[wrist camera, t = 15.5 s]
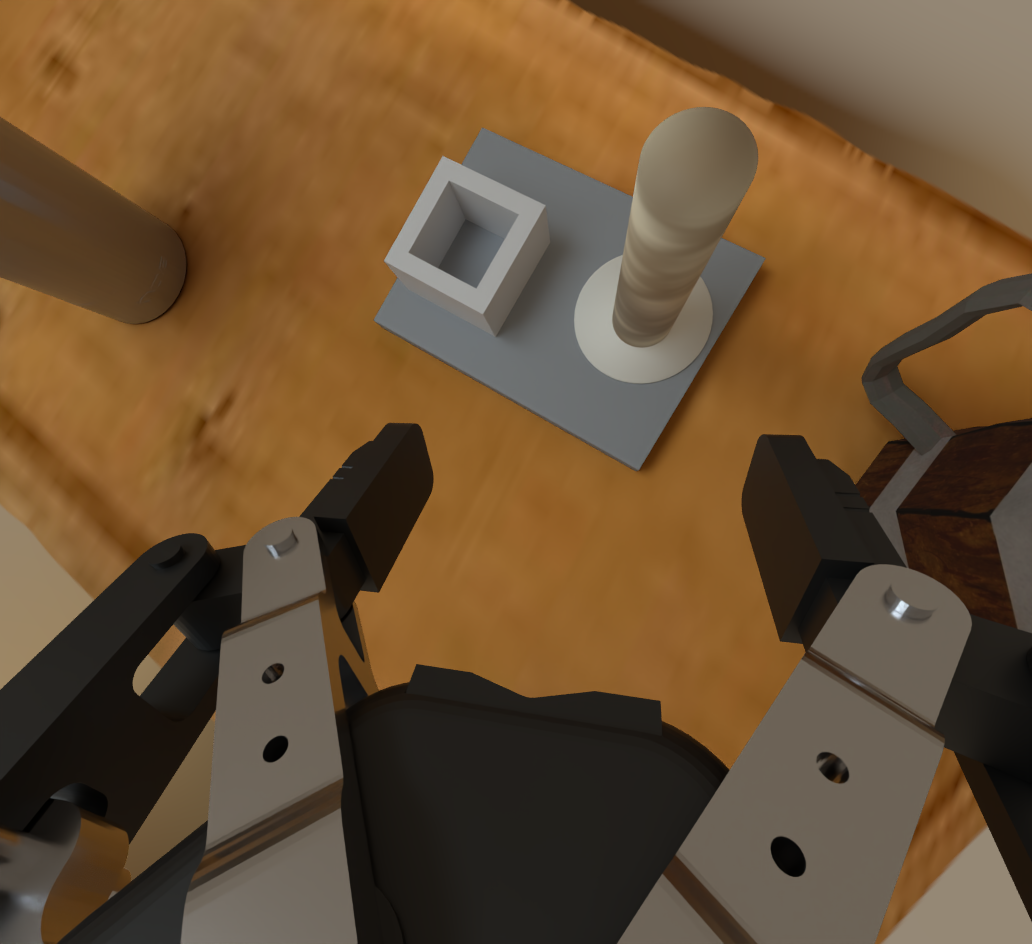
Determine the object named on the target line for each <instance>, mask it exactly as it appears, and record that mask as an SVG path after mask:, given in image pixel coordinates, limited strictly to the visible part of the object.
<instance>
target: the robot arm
mask: <svg viewBox="0 0 1032 944" xmlns="http://www.w3.org/2000/svg"><path fill="white" fill-rule="evenodd" d="M185 274H186V256H185V250H184V248H183V245H182V242H181V240H180V238H179V237H178V235H177V234H176V232H175V231H174V230H173V229H172V228H171V227H169V226H168V225H167V224H165V223H164V222H162V221H161V220H159V219H158V218H156V217H155V216H153V215H151V214H150V213H148V212H147V211H145V210H144V209H142V208H141V207H139V206H137V205H136V204H134V203H133V202H131V201H130V200H128V199H127V198H125V197H123V196H122V195H121V194H119V193H118V192H116V191H115V190H113V189H111V188H110V187H108V186H107V185H105V184H104V183H102V182H101V181H99V180H98V179H96V178H94V177H93V176H91V175H90V174H88V173H87V172H85V171H84V170H82V169H80V168H79V167H77V166H76V165H74V164H73V163H71V162H70V161H68V160H66V159H65V158H63V157H62V156H60V155H59V154H57V153H56V152H54V151H53V150H51V149H49V148H48V147H46V146H45V145H43V144H42V143H40V142H39V141H37V140H35V139H34V138H32V137H31V136H29V135H28V134H26V133H25V132H23V131H21V130H20V129H18V128H17V127H15V126H14V125H12V124H11V123H9V122H8V121H6V120H4V119H3V118H1V117H0V277H2V278H4V279H7V280H10V281H12V282H15V283H18V284H20V285H23V286H26V287H29V288H31V289H34V290H37V291H39V292H42V293H45V294H48V295H50V296H53V297H56V298H58V299H61V300H64V301H66V302H69V303H71V304H74V305H77V306H80V307H82V308H85V309H88V310H91V311H93V312H96V313H99V314H102V315H104V316H107V317H110V318H113V319H115V320H118V321H121V322H124V323H130V324H139V323H145V322H148V321H150V320H153V319H155V318H157V317H158V316H160V315H161V314H163V313H164V312H165V311H166V310H167V309H168V308H169V307H170V306H171V305H172V304H173V302H174V301H175V299H176V298H177V296H178V295H179V293H180V290H181V288H182V286H183V283H184V278H185ZM432 488H433V470H432V466H431V463H430V459H429V455H428V451H427V447H426V443H425V440H424V436H423V432H422V429H421V427H420V426H419V425H418V424H412V423H388V424H386V425H385V427H384V428H383V429H382V430H381V432H380V433H379V434H378V435H377V437H376V438H375V439H374V440H373V441H369V442H367V443H366V444H364V445H363V446H361V447H360V448H358V449H357V450H355V451H354V452H353V453H352V454H351V455H350V456H349V457H348V459H347V460H346V461H345V462H344V463H343V465H342V468H339V469H338V471H337V472H336V473H335V474H334V476H333V479H330V480H329V482H328V483H327V484H326V485H325V486H324V488H323V489H322V490H321V491H320V492H319V494H318V495H317V496H316V497H315V498H314V500H313V501H312V502H311V503H310V504H309V506H308V507H307V508H306V509H305V511H304V512H303V513H302V514H301V515H300V517H290V518H285V519H282V520H278V521H276V522H273V523H271V524H269V525H267V526H266V527H264V528H263V529H261V530H260V531H258V532H257V533H256V534H255V535H254V536H253V537H252V538H251V539H250V540H249V541H248V543H247V545H243V546H237V547H231V548H225V549H219V550H214V549H213V547H212V546H211V545H210V543H209V542H208V541H207V539H206V538H205V537H204V536H202V535H200V534H195V533H189V534H182V535H178V536H175V537H172V538H169V539H167V540H164V541H162V542H160V543H158V544H157V545H155V546H153V547H152V548H150V549H149V550H147V551H146V552H145V553H144V554H142V555H141V556H140V557H139V558H138V559H137V560H136V561H135V562H134V563H133V564H132V565H131V566H130V567H129V568H127V569H126V570H125V571H124V572H123V573H122V574H121V575H120V576H119V577H118V578H117V579H116V580H115V581H114V582H113V583H112V584H111V585H110V586H109V587H108V588H107V589H105V590H104V591H103V592H102V593H101V594H100V595H99V596H98V597H97V598H96V599H95V600H94V601H93V602H92V603H91V604H90V605H89V606H88V607H87V608H86V609H85V610H83V612H82V613H80V614H79V615H78V616H77V617H76V618H75V619H74V620H73V621H72V622H71V623H70V624H69V625H68V626H67V627H66V628H65V629H64V630H63V631H61V632H60V633H59V634H58V635H57V636H56V637H55V638H54V639H53V640H52V641H51V642H50V643H49V644H48V645H47V646H46V647H45V648H44V649H43V650H42V651H41V652H39V653H38V654H37V655H36V656H35V657H34V658H33V659H32V660H31V661H30V662H29V663H28V664H27V665H26V666H25V667H24V668H23V669H22V670H21V671H20V672H19V673H17V675H15V677H13V678H12V679H11V680H10V681H9V682H8V683H7V684H6V685H5V686H4V687H3V688H2V689H1V690H0V944H875V941H876V938H877V935H878V933H879V930H880V927H881V924H882V921H883V919H884V916H885V913H886V910H887V907H888V904H889V902H890V899H891V896H892V893H893V890H894V888H895V885H896V882H897V879H898V876H899V873H900V871H901V868H902V865H903V862H904V859H905V856H906V854H907V851H908V848H909V845H910V842H911V840H912V837H913V834H914V831H915V828H916V825H917V823H918V820H919V817H920V814H921V811H922V809H923V806H924V803H925V800H926V797H927V794H928V792H929V789H930V786H931V783H932V780H933V778H934V775H935V772H936V769H937V766H938V763H939V761H940V758H941V755H942V752H943V748H944V747H945V748H947V749H950V750H952V751H954V753H955V755H956V758H957V760H958V762H959V764H960V766H961V769H962V771H963V773H964V775H965V777H966V779H967V782H968V784H969V786H970V788H971V790H972V793H973V795H974V797H975V799H976V801H977V803H978V806H979V808H980V810H981V812H982V814H983V816H984V819H985V821H986V823H987V825H988V827H989V830H990V832H991V834H992V836H993V838H994V840H995V842H996V845H997V847H998V849H999V851H1000V853H1001V856H1002V858H1003V860H1004V862H1005V864H1006V867H1007V869H1008V871H1009V873H1010V875H1011V877H1012V880H1013V882H1014V884H1015V886H1016V888H1017V890H1018V893H1019V895H1020V897H1021V899H1022V901H1023V903H1024V905H1025V908H1026V910H1027V912H1028V915H1029V917H1030V919H1031V921H1032V633H1029V632H1026V631H1023V630H1020V629H1016V628H1013V627H1010V626H1007V625H1003V624H1000V623H997V622H993V621H990V620H987V619H984V618H980V617H978V616H975V615H972V614H969V611H968V610H967V608H966V606H965V605H964V603H963V602H962V601H961V600H960V599H959V598H958V597H957V596H956V595H955V594H954V593H953V592H952V591H951V590H949V589H948V588H947V587H945V586H944V585H943V584H941V583H939V582H938V581H936V580H934V579H933V578H931V577H929V576H927V575H925V574H922V573H920V572H917V571H915V570H912V569H909V568H907V567H906V565H905V564H904V562H903V560H902V559H901V557H900V556H899V554H898V552H897V551H896V549H895V548H894V546H893V545H892V543H891V541H890V540H889V538H888V537H887V535H886V533H885V532H884V530H883V529H882V527H881V525H880V524H879V522H878V521H877V519H876V518H875V516H874V514H873V513H872V512H870V511H869V510H870V508H869V506H868V505H867V503H866V502H865V500H864V498H863V497H860V492H859V491H858V489H857V487H856V486H855V484H854V483H853V481H852V479H851V478H850V476H849V475H848V474H846V473H845V472H844V471H842V470H841V469H840V468H838V467H837V466H836V465H835V464H833V463H832V462H831V461H829V460H826V459H816V458H815V456H814V454H813V453H812V451H811V449H810V447H809V446H808V444H807V442H806V440H805V439H804V437H803V436H801V435H769V434H763V435H761V436H760V437H759V439H758V441H757V444H756V447H755V450H754V454H753V457H752V461H751V464H750V467H749V471H748V474H747V477H746V481H745V484H744V488H743V492H742V514H743V518H744V521H745V524H746V528H747V531H748V535H749V538H750V541H751V545H752V548H753V551H754V555H755V558H756V562H757V565H758V568H759V572H760V575H761V578H762V582H763V585H764V589H765V592H766V595H767V599H768V602H769V605H770V609H771V612H772V616H773V619H774V622H775V626H776V629H777V633H778V636H779V639H780V641H782V642H791V643H799V644H803V646H804V649H805V651H806V653H805V654H804V656H803V657H802V659H801V661H800V662H799V664H798V665H797V667H796V668H795V670H794V671H793V673H792V674H791V676H790V678H789V679H788V681H787V682H786V684H785V685H784V687H783V688H782V690H781V692H780V693H779V695H778V696H777V698H776V699H775V701H774V702H773V704H772V706H771V707H770V709H769V710H768V712H767V713H766V715H765V716H764V718H763V720H762V721H761V723H760V724H759V726H758V727H757V729H756V730H755V732H754V733H753V735H752V737H751V738H750V740H749V741H748V743H747V744H746V746H745V747H744V749H743V751H742V752H741V754H740V755H739V757H738V758H737V760H736V761H735V763H734V765H733V766H732V768H731V769H730V770H729V769H728V768H727V767H726V766H725V765H724V763H723V762H722V761H721V760H720V759H718V758H717V757H716V756H715V755H714V754H713V753H712V752H711V751H709V750H708V749H707V748H706V747H705V746H703V745H702V744H701V743H699V742H698V741H697V740H695V739H694V738H692V737H691V736H690V735H688V734H686V733H684V732H683V731H681V730H679V729H678V728H676V727H674V726H672V725H670V724H667V723H665V722H663V721H662V720H661V703H660V701H656V700H650V699H643V698H637V697H630V696H623V695H617V694H610V693H604V692H597V691H592V692H583V693H574V694H565V695H556V696H547V697H538V698H528V697H524V696H522V695H519V694H517V693H515V692H513V691H511V690H509V689H506V688H504V687H502V686H500V685H498V684H495V683H493V682H491V681H489V680H487V679H484V678H482V677H480V676H478V675H476V674H473V673H471V672H465V671H458V670H451V669H445V668H438V667H432V666H425V665H418V664H416V667H415V669H414V672H413V675H412V677H411V680H410V682H408V683H403V684H399V685H395V686H391V687H388V688H385V689H383V690H380V691H379V689H378V687H377V685H376V682H375V679H374V676H373V673H372V669H371V665H370V661H369V656H368V652H367V647H366V643H365V639H364V634H363V630H362V626H361V621H360V617H359V612H358V608H357V605H356V603H355V601H354V600H355V598H356V596H357V595H358V593H359V591H360V590H361V591H370V592H378V593H379V591H380V590H381V588H382V586H383V584H384V582H385V580H386V578H387V576H388V574H389V572H390V571H391V569H392V567H393V565H394V563H395V561H396V559H397V557H398V555H399V553H400V551H401V550H402V548H403V546H404V544H405V542H406V540H407V538H408V536H409V534H410V532H411V531H412V529H413V527H414V525H415V523H416V521H417V519H418V517H419V515H420V513H421V512H422V510H423V508H424V506H425V504H426V502H427V500H428V498H429V496H430V494H431V492H432ZM173 624H174V625H175V626H176V627H177V628H178V629H179V630H180V631H181V632H182V633H183V634H184V635H185V637H186V639H185V640H184V641H183V642H182V644H181V645H180V646H179V647H178V649H177V650H176V651H175V652H174V654H173V655H172V656H171V657H170V659H169V660H168V661H167V663H166V664H165V665H164V666H163V668H162V669H161V670H160V671H159V673H158V674H157V675H156V677H155V678H154V679H153V680H152V682H151V683H150V684H149V685H148V687H147V688H146V689H145V691H144V692H143V693H142V694H141V695H140V696H138V695H137V694H136V693H135V692H134V690H133V684H132V682H133V677H134V673H135V671H136V669H137V667H138V666H139V665H140V663H141V662H142V661H143V660H144V658H145V657H146V656H147V655H148V654H149V652H150V651H151V650H152V649H153V648H154V647H155V645H156V644H157V643H158V642H159V641H160V639H161V638H162V637H163V636H164V635H165V633H166V632H167V631H168V630H169V629H170V627H171V626H172V625H173ZM215 710H216V719H215V732H214V746H213V759H212V773H211V787H210V800H209V814H208V820H207V821H206V822H205V823H204V824H202V825H201V826H200V827H199V828H197V829H196V830H195V831H194V832H192V833H191V834H190V835H189V836H187V837H186V838H185V839H184V840H182V841H181V842H180V843H179V844H177V845H176V846H175V847H174V848H173V849H171V850H170V851H169V852H167V853H166V854H165V855H164V856H162V857H161V858H160V859H159V860H157V861H156V862H155V863H154V864H152V865H151V866H150V867H149V868H147V869H146V870H145V871H144V872H142V873H141V874H140V875H139V876H137V877H136V878H135V879H134V880H132V881H131V875H130V872H129V870H127V869H125V868H124V865H125V863H126V859H127V855H128V849H129V844H130V843H131V841H132V840H133V838H134V837H135V835H136V833H137V832H138V830H139V829H140V827H141V826H142V824H143V823H144V821H145V819H146V818H147V816H148V814H149V813H150V811H151V810H152V809H153V807H154V805H155V804H156V802H157V801H158V799H159V798H160V796H161V795H162V793H163V791H164V790H165V788H166V787H167V785H168V784H169V782H170V781H171V779H172V777H173V776H174V774H175V773H176V771H177V769H178V768H179V766H180V765H181V763H182V762H183V760H184V759H185V757H186V756H187V754H188V752H189V751H190V749H191V748H192V746H193V745H194V743H195V742H196V740H197V738H198V737H199V735H200V734H201V732H202V731H203V729H204V728H205V726H206V724H207V723H208V721H209V720H210V718H211V717H212V715H213V714H214V712H215Z"/></svg>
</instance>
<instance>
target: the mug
mask: <svg viewBox="0 0 1032 944" xmlns="http://www.w3.org/2000/svg"><path fill="white" fill-rule="evenodd" d="M1021 306H1024V307H1026V308H1028V309H1029V310H1031V311H1032V274H1027V275H1022V276H1016V277H1011V278H1006V279H1001V280H999V281H996V282H994V283H991V284H988V285H986V286H983V287H982V288H980V289H979V290H977V291H976V292H974V293H973V294H971V295H969V296H968V297H966V298H965V299H963V300H962V301H960V302H959V303H957V304H956V305H954V306H953V307H951V308H950V309H948V310H947V311H945V312H944V313H942V314H941V315H939V316H938V317H936V318H934V319H932V320H930V321H928V322H926V323H924V324H922V325H920V326H918V327H916V328H915V329H913V330H911V331H909V332H907V333H905V334H903V335H902V336H900V337H898V338H897V339H895V340H894V341H892V342H891V343H889V344H887V345H886V346H884V347H883V348H881V349H880V350H879V351H878V352H877V353H876V354H875V355H874V356H873V357H872V358H871V360H870V362H869V364H868V366H867V368H866V370H865V371H864V373H863V375H862V384H863V386H864V389H865V391H866V394H867V396H868V399H869V402H870V404H871V405H873V406H874V407H875V408H876V409H877V410H878V411H879V412H880V413H881V414H882V415H883V416H884V417H885V418H886V419H887V420H889V421H890V422H891V423H892V424H893V425H894V426H895V427H896V429H897V430H898V431H899V432H900V433H901V434H902V435H903V436H904V437H905V438H906V439H901V440H895V441H889V442H888V443H887V444H886V445H885V447H884V448H883V449H882V451H881V452H880V453H879V455H878V456H877V457H876V459H875V460H874V461H873V463H872V464H871V465H870V467H869V468H868V469H867V471H866V472H865V473H864V475H863V476H862V477H861V479H860V480H859V481H858V483H857V484H856V485H855V486H856V487H857V489H858V491H859V492H860V497H863V498H864V500H865V502H866V503H867V505H868V506H869V508H870V510H869V511H870V512H872V513H873V514H874V516H875V518H876V519H877V521H878V522H879V524H880V525H881V527H882V529H883V530H884V532H885V533H886V535H887V537H888V538H889V540H890V541H891V543H892V545H893V546H894V548H895V549H896V551H897V552H898V554H899V556H900V557H901V559H902V560H903V562H904V564H905V565H906V567H907V568H909V569H912V570H915V571H917V572H920V573H922V574H925V575H927V576H929V577H931V578H933V579H934V580H936V581H938V582H939V583H941V584H943V585H944V586H945V587H947V588H948V589H949V590H951V591H952V592H953V593H954V594H955V595H956V596H957V597H958V598H959V599H960V600H961V601H962V602H963V603H964V605H965V606H966V608H967V610H968V611H969V614H972V615H975V616H978V617H980V618H984V619H987V620H990V621H993V622H997V623H1000V624H1003V625H1007V626H1010V627H1013V628H1016V629H1020V630H1023V631H1026V632H1029V633H1032V418H1030V419H1024V420H1018V421H1012V422H1006V423H1000V424H995V425H991V426H984V427H973V428H967V429H961V430H955V431H952V429H951V428H950V427H949V426H948V425H947V424H946V423H945V422H944V421H943V420H942V419H941V418H940V417H939V416H938V415H937V414H936V413H935V412H934V411H933V410H932V409H931V408H930V407H929V406H928V405H927V404H926V403H925V402H924V401H923V400H922V399H920V398H919V397H918V396H917V395H916V394H915V393H914V392H912V391H911V390H910V389H909V388H908V387H907V386H906V385H904V384H903V381H902V378H901V376H900V373H899V370H898V367H897V366H898V364H899V363H900V362H901V360H902V359H904V358H906V357H908V356H910V355H913V354H915V353H917V352H919V351H921V350H924V349H926V348H928V347H931V346H933V345H935V344H938V343H940V342H942V341H945V340H947V339H949V338H951V337H953V336H955V335H956V334H958V333H959V332H961V331H962V330H964V329H965V328H967V327H968V326H970V325H971V324H973V323H974V322H976V321H977V320H979V319H980V318H982V317H983V316H985V315H986V314H990V313H994V312H999V311H1003V310H1008V309H1012V308H1017V307H1021Z"/></svg>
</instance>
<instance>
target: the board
mask: <svg viewBox="0 0 1032 944" xmlns="http://www.w3.org/2000/svg"><path fill="white" fill-rule="evenodd" d="M632 200H633V197H632V196H630V195H627V194H625V193H623V192H621V191H619V190H617V189H614V188H612V187H610V186H608V185H606V184H604V183H601V182H599V181H597V180H595V179H593V178H591V177H588V176H586V175H584V174H582V173H580V172H578V171H575V170H573V169H571V168H569V167H567V166H565V165H562V164H560V163H558V162H556V161H554V160H551V159H549V158H547V157H545V156H543V155H541V154H538V153H536V152H534V151H532V150H530V149H528V148H525V147H523V146H521V145H519V144H517V143H515V142H512V141H510V140H508V139H506V138H504V137H502V136H499V135H497V134H495V133H493V132H491V131H489V130H486V129H484V128H482V129H481V131H480V133H479V134H478V136H477V138H476V140H475V141H474V143H473V145H472V147H471V149H470V150H469V152H468V154H467V156H466V157H465V159H464V161H463V163H462V164H459V163H456V162H454V161H452V160H450V159H448V158H446V157H444V156H443V157H442V158H441V160H440V162H439V164H438V166H437V167H436V169H435V171H434V173H433V174H432V176H431V178H430V180H429V182H428V183H427V185H426V187H425V189H424V190H423V192H422V194H421V196H420V198H419V199H418V201H417V203H416V205H415V206H414V208H413V210H412V212H411V214H410V215H409V217H408V219H407V221H406V223H405V224H404V226H403V228H402V230H401V231H400V233H399V235H398V237H397V239H396V240H395V242H394V244H393V246H392V247H391V249H390V251H389V253H388V255H387V256H386V258H385V260H384V262H385V263H386V264H387V265H388V266H389V268H390V269H391V270H392V271H393V272H394V273H395V275H396V276H397V277H398V278H397V280H396V281H395V283H394V285H393V287H392V289H391V290H390V292H389V294H388V296H387V297H386V299H385V301H384V303H383V305H382V306H381V308H380V310H379V312H378V313H377V315H376V317H375V319H374V321H375V322H376V323H378V324H379V325H380V326H381V327H382V328H384V329H386V330H388V331H389V332H391V333H393V334H395V335H396V336H398V337H400V338H402V339H403V340H405V341H407V342H409V343H410V344H412V345H414V346H416V347H418V348H419V349H421V350H423V351H425V352H426V353H428V354H430V355H432V356H433V357H435V358H437V359H439V360H440V361H442V362H444V363H446V364H448V365H449V366H451V367H453V368H455V369H456V370H458V371H460V372H462V373H463V374H465V375H467V376H469V377H470V378H472V379H474V380H476V381H478V382H479V383H481V384H483V385H485V386H486V387H488V388H490V389H492V390H493V391H495V392H497V393H499V394H500V395H502V396H504V397H506V398H508V399H509V400H511V401H513V402H515V403H516V404H518V405H520V406H522V407H523V408H525V409H527V410H529V411H530V412H532V413H534V414H536V415H538V416H539V417H541V418H543V419H545V420H546V421H548V422H550V423H552V424H553V425H555V426H557V427H559V428H560V429H562V430H564V431H566V432H567V433H569V434H571V435H573V436H575V437H576V438H578V439H580V440H582V441H583V442H585V443H587V444H589V445H590V446H592V447H594V448H596V449H597V450H599V451H601V452H603V453H605V454H606V455H608V456H610V457H612V458H613V459H615V460H617V461H619V462H620V463H622V464H624V465H626V466H627V467H629V468H631V469H633V470H635V471H638V470H639V469H640V467H641V466H642V464H643V462H644V461H645V459H646V457H647V456H648V454H649V452H650V451H651V449H652V447H653V446H654V444H655V442H656V441H657V439H658V437H659V436H660V434H661V432H662V431H663V429H664V427H665V426H666V424H667V422H668V421H669V419H670V417H671V416H672V414H673V412H674V411H675V409H676V407H677V406H678V404H679V402H680V401H681V399H682V397H683V396H684V394H685V392H686V391H687V389H688V387H689V386H690V384H691V382H692V381H693V379H694V377H695V376H696V374H697V372H698V370H699V369H700V367H701V365H702V364H703V362H704V360H705V359H706V357H707V355H708V354H709V352H710V350H711V349H712V347H713V345H714V344H715V342H716V340H717V339H718V337H719V335H720V334H721V332H722V330H723V329H724V327H725V325H726V324H727V322H728V320H729V319H730V317H731V315H732V314H733V312H734V310H735V309H736V307H737V305H738V304H739V302H740V300H741V299H742V297H743V295H744V294H745V292H746V290H747V289H748V287H749V285H750V284H751V282H752V280H753V279H754V277H755V275H756V274H757V272H758V270H759V269H760V267H761V265H762V264H763V262H764V260H765V259H766V258H764V257H762V256H760V255H757V254H755V253H753V252H751V251H749V250H747V249H744V248H742V247H740V246H738V245H736V244H734V243H731V242H729V241H727V240H725V239H723V238H721V239H720V241H719V243H718V245H717V246H716V248H715V250H714V252H713V254H712V255H711V257H710V259H709V261H708V263H707V265H706V266H705V268H704V270H703V272H702V274H701V275H700V277H699V279H698V281H697V283H696V285H695V286H694V288H693V290H692V292H691V294H690V296H689V297H688V299H687V301H686V303H685V305H684V306H683V308H682V310H681V312H680V314H679V316H678V317H677V319H676V321H675V323H674V325H673V326H672V328H671V330H670V332H669V333H668V335H667V336H666V337H665V338H664V339H663V340H662V341H660V342H659V343H657V344H655V345H653V346H650V347H643V348H640V347H633V346H630V345H628V344H626V343H624V342H623V341H622V340H621V339H620V338H619V337H618V336H617V334H616V333H615V331H614V328H613V324H612V315H613V309H614V303H615V298H616V292H617V286H618V280H619V275H620V269H621V263H622V257H623V252H624V246H625V240H626V234H627V229H628V223H629V217H630V211H631V206H632Z"/></svg>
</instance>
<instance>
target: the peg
mask: <svg viewBox="0 0 1032 944" xmlns="http://www.w3.org/2000/svg"><path fill="white" fill-rule="evenodd" d="M757 165H758V149H757V145H756V141H755V139H754V136H753V134H752V133H751V131H750V129H749V128H748V127H747V126H746V124H745V123H744V122H743V121H741V120H740V119H739V118H738V117H736V116H735V115H733V114H731V113H729V112H727V111H724V110H721V109H717V108H711V107H697V108H691V109H687V110H684V111H681V112H678V113H676V114H674V115H672V116H670V117H669V118H667V119H666V120H664V121H663V122H662V123H660V124H659V125H658V126H657V127H656V128H655V129H654V130H653V132H652V133H651V134H650V136H649V137H648V139H647V140H646V142H645V144H644V146H643V149H642V151H641V155H640V160H639V165H638V171H637V177H636V183H635V188H634V194H633V200H632V206H631V211H630V217H629V223H628V229H627V234H626V240H625V246H624V252H623V257H622V263H621V269H620V275H619V280H618V286H617V292H616V298H615V303H614V309H613V315H612V324H613V328H614V331H615V333H616V334H617V336H618V337H619V338H620V339H621V340H622V341H623V342H624V343H626V344H628V345H630V346H633V347H640V348H643V347H650V346H653V345H655V344H657V343H659V342H660V341H662V340H663V339H664V338H665V337H666V336H667V335H668V333H669V332H670V330H671V328H672V326H673V325H674V323H675V321H676V319H677V317H678V316H679V314H680V312H681V310H682V308H683V306H684V305H685V303H686V301H687V299H688V297H689V296H690V294H691V292H692V290H693V288H694V286H695V285H696V283H697V281H698V279H699V277H700V275H701V274H702V272H703V270H704V268H705V266H706V265H707V263H708V261H709V259H710V257H711V255H712V254H713V252H714V250H715V248H716V246H717V245H718V243H719V241H720V239H721V237H722V235H723V234H724V232H725V230H726V228H727V226H728V225H729V223H730V221H731V219H732V217H733V215H734V214H735V212H736V210H737V208H738V206H739V205H740V203H741V201H742V199H743V197H744V195H745V194H746V192H747V190H748V188H749V186H750V184H751V182H752V181H753V179H754V176H755V173H756V169H757Z"/></svg>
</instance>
